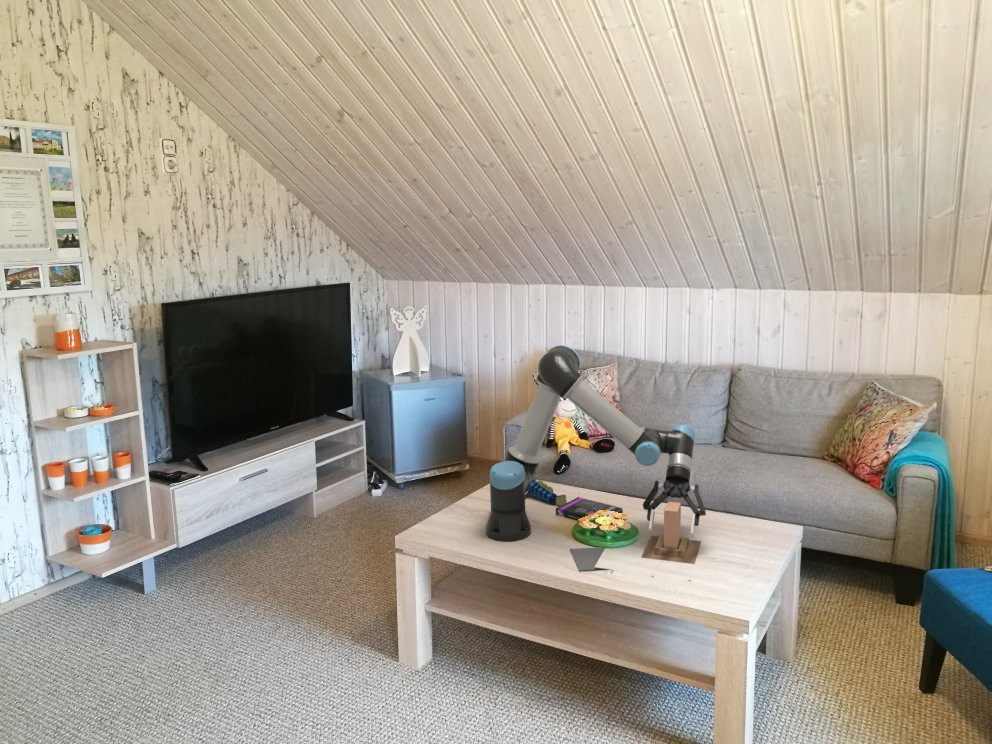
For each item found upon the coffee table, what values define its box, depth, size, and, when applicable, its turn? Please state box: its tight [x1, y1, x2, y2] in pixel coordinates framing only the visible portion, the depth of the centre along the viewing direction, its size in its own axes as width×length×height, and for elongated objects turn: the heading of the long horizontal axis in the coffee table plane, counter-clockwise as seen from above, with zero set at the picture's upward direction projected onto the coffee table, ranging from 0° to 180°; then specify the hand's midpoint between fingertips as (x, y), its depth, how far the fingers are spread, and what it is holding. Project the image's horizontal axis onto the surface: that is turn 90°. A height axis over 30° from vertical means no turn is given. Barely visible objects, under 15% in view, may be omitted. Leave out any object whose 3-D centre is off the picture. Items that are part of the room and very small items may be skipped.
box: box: [555, 496, 624, 521], centre depth 285 cm, size 14×4×20 cm
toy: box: [525, 475, 568, 507], centre depth 300 cm, size 14×25×10 cm, turn 39°
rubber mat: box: [569, 546, 612, 572], centre depth 248 cm, size 16×16×1 cm
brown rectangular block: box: [663, 501, 682, 550], centre depth 249 cm, size 4×8×14 cm, turn 160°
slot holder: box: [641, 534, 702, 565], centre depth 251 cm, size 16×18×4 cm
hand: (671, 532), depth 247 cm, fingers open, 12 cm apart
